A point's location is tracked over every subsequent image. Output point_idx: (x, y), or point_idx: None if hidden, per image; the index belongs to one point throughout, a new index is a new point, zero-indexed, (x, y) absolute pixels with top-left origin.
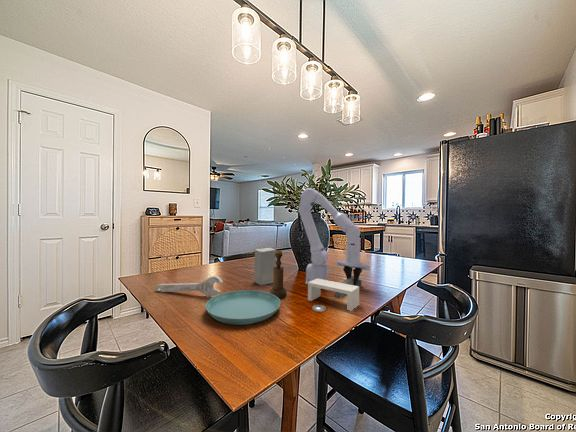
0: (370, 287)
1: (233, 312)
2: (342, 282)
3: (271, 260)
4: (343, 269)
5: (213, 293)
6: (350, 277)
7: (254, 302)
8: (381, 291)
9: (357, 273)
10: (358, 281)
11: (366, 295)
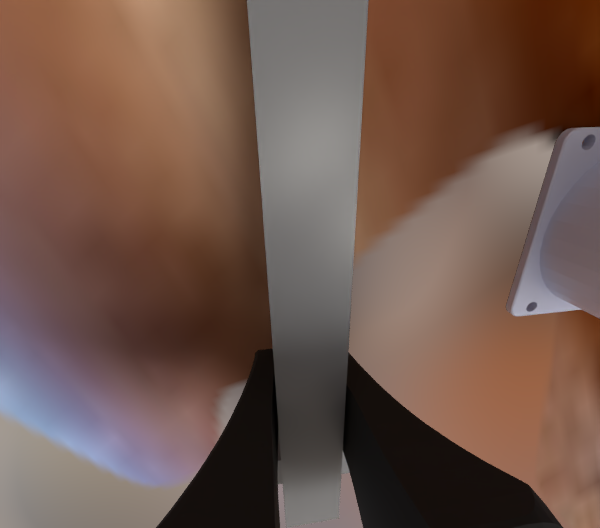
0: (179, 443)
1: None
2: (332, 38)
3: None
4: (537, 498)
5: None
6: (339, 420)
7: None
8: (43, 422)
9: (171, 516)
10: None
11: (50, 224)
